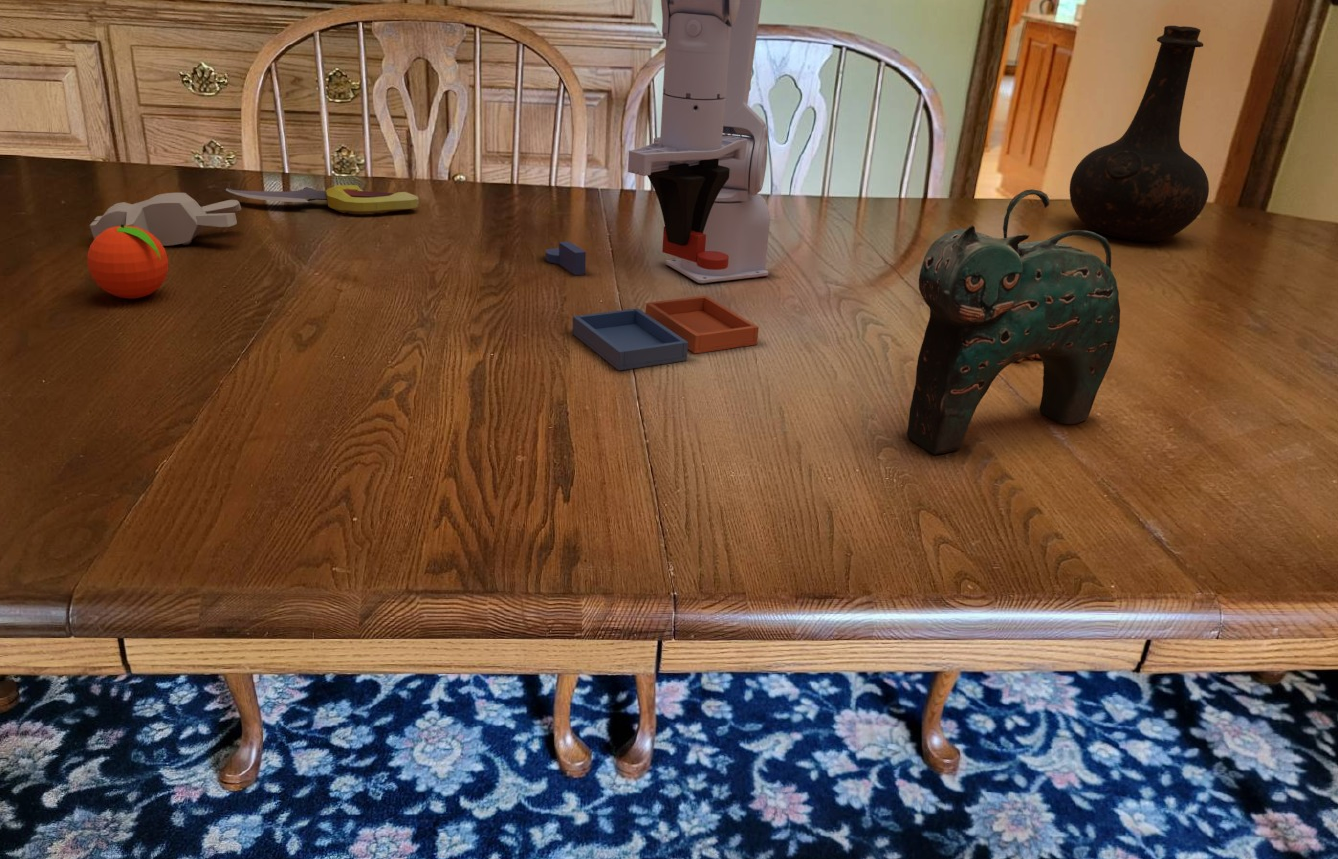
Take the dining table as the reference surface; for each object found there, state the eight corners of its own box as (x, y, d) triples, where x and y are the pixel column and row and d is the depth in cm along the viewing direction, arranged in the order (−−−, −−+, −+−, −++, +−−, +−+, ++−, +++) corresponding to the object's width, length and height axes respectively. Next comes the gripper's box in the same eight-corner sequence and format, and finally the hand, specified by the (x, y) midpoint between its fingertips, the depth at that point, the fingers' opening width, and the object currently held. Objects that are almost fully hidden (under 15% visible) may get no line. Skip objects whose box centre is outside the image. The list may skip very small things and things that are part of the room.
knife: (211, 209, 132) (413, 219, 133) (208, 188, 131) (412, 199, 132) (231, 195, 139) (423, 204, 140) (229, 175, 138) (422, 185, 139)
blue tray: (637, 325, 104) (638, 307, 103) (686, 360, 96) (688, 342, 95) (572, 333, 100) (572, 316, 100) (618, 370, 93) (619, 351, 92)
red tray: (704, 311, 109) (706, 295, 108) (757, 344, 101) (758, 326, 100) (644, 319, 105) (645, 302, 105) (694, 353, 98) (695, 335, 97)
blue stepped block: (541, 257, 122) (541, 235, 121) (565, 255, 124) (565, 233, 123) (567, 276, 117) (568, 253, 115) (592, 273, 118) (592, 251, 117)
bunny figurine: (97, 196, 119) (236, 180, 122) (110, 239, 121) (246, 223, 125) (79, 217, 111) (229, 200, 114) (94, 264, 113) (240, 245, 117)
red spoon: (734, 266, 100) (736, 239, 99) (714, 272, 98) (716, 244, 97) (676, 248, 104) (678, 223, 103) (655, 253, 102) (657, 227, 101)
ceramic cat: (925, 466, 80) (975, 203, 71) (873, 431, 85) (913, 182, 76) (1109, 427, 88) (1173, 189, 80) (1052, 397, 94) (1106, 171, 85)
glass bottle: (1038, 227, 151) (1083, 18, 139) (1098, 212, 162) (1145, 18, 150) (1159, 258, 139) (1220, 34, 127) (1214, 240, 150) (1276, 32, 138)
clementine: (197, 296, 103) (187, 224, 100) (138, 315, 98) (125, 240, 94) (138, 281, 106) (126, 211, 103) (77, 299, 100) (63, 226, 97)
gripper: (711, 84, 103) (701, 221, 109) (606, 93, 93) (600, 244, 99) (769, 94, 99) (755, 236, 104) (665, 105, 89) (655, 261, 95)
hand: (683, 241), depth 101 cm, fingers closed on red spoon
